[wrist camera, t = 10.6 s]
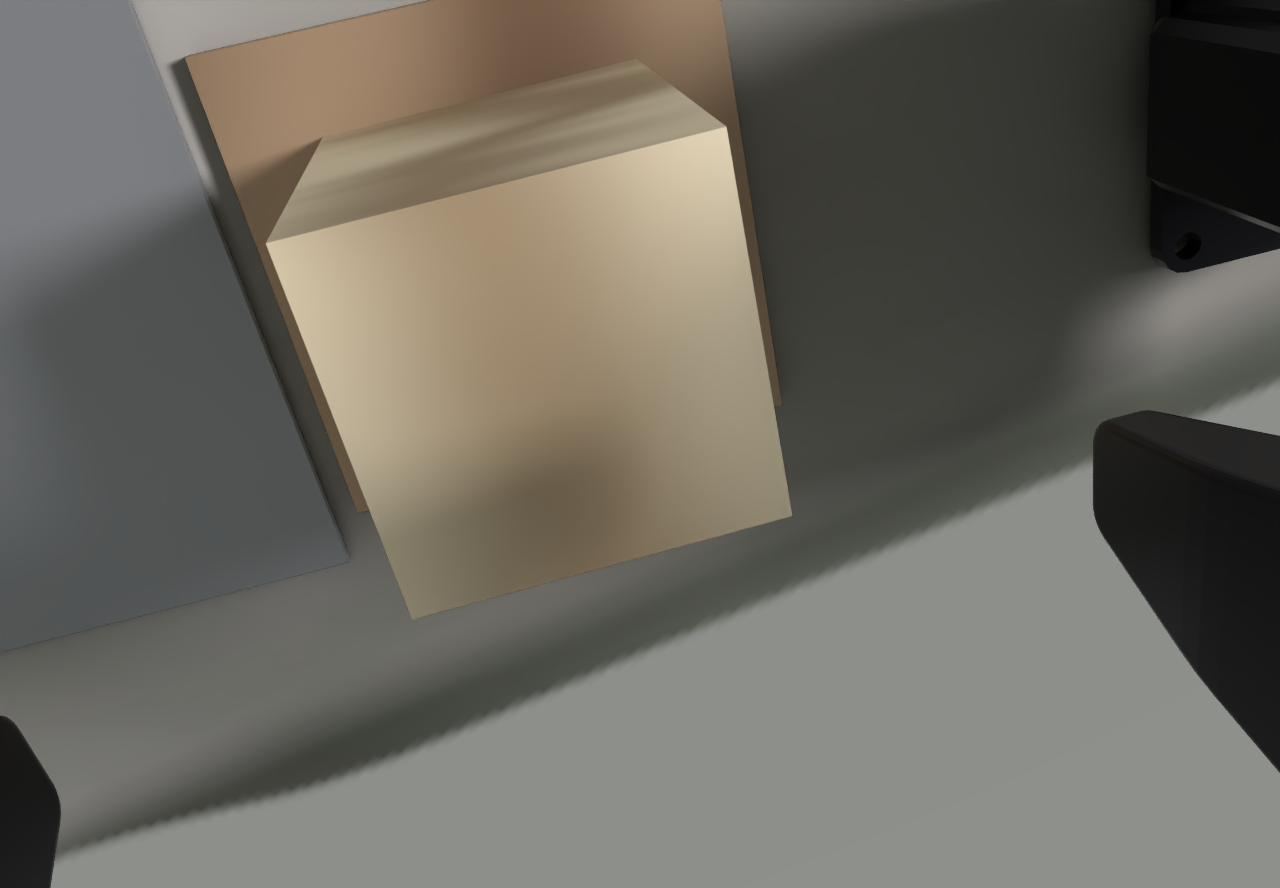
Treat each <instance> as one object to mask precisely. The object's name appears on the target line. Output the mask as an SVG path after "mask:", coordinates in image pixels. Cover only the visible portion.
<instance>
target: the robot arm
mask: <svg viewBox="0 0 1280 888" xmlns="http://www.w3.org/2000/svg"><path fill="white" fill-rule="evenodd" d="M1146 172H1147V176H1148V177H1149V178H1150V179H1151V210H1150V246H1149V247H1150V252H1151V256H1152V258H1153V259H1154V260H1155V262H1156V263H1158V264H1160V265H1162V266H1164V267H1166V268H1168V269H1170V270H1173V271H1175V272H1177V273H1178V272H1189V271H1193V270H1197V269H1201V268H1205V267H1209V266H1213V265H1217V264H1221V263H1225V262H1229V261H1233V260H1236V259H1240V258H1244V257H1248V256H1252V255H1256V254H1260V253H1264V252H1268V251H1272V250H1276V249H1280V0H1156V25H1155V28H1154V29H1153V31H1152V33H1151V35H1150V49H1149V89H1148V129H1147V170H1146ZM1185 234H1188V239H1187V243H1186V245H1185V246H1184V247H1183V248H1182V250H1180V251H1178V252H1175V247H1176V244H1177V242H1178V240H1179V239H1180V238H1181V237H1182V236H1183V235H1185ZM1093 510H1094V515H1095V519H1096V522H1097V525H1098V527H1099V530H1100V532H1101V533H1102V535H1103V537H1104V539H1105V540H1106V542H1107V543H1108V545H1109V546H1110V547H1111V549H1112V550H1113V552H1114V553H1115V555H1116V556H1117V558H1118V559H1119V561H1120V562H1121V564H1122V565H1123V567H1124V568H1125V570H1126V571H1127V573H1128V574H1129V576H1130V577H1131V579H1132V580H1133V582H1134V583H1135V585H1136V586H1137V587H1138V589H1139V591H1140V592H1141V594H1142V595H1143V596H1144V597H1145V599H1146V601H1147V602H1148V604H1149V605H1150V607H1151V608H1152V610H1153V611H1154V613H1155V614H1156V616H1157V617H1158V619H1159V620H1160V622H1161V623H1162V625H1163V626H1164V628H1165V629H1166V631H1167V632H1168V634H1169V635H1170V637H1171V638H1172V640H1173V641H1174V642H1175V644H1176V645H1177V647H1178V648H1179V650H1180V651H1181V653H1182V654H1183V656H1184V657H1185V658H1186V660H1187V661H1188V662H1189V664H1190V665H1191V666H1192V668H1193V669H1194V671H1195V672H1196V673H1197V675H1198V676H1199V677H1200V678H1201V680H1202V681H1203V682H1204V683H1205V685H1206V686H1207V687H1208V688H1209V690H1210V691H1211V692H1212V693H1213V695H1214V696H1215V697H1216V698H1217V699H1218V701H1219V702H1220V703H1221V704H1222V705H1223V706H1224V708H1225V709H1226V710H1227V711H1228V712H1229V714H1230V715H1231V716H1232V717H1233V718H1234V719H1235V721H1236V722H1237V723H1238V724H1239V725H1240V726H1241V728H1242V729H1243V730H1244V731H1245V732H1246V733H1247V735H1248V736H1249V737H1250V738H1251V739H1252V740H1253V742H1254V743H1255V744H1256V745H1257V746H1258V748H1259V749H1260V750H1261V751H1262V752H1263V753H1264V755H1265V756H1266V757H1267V758H1268V759H1269V761H1270V762H1271V763H1272V764H1273V765H1274V766H1275V768H1276V769H1277V770H1278V771H1279V772H1280V436H1277V435H1272V434H1267V433H1262V432H1257V431H1252V430H1247V429H1242V428H1237V427H1232V426H1227V425H1222V424H1217V423H1211V422H1207V421H1201V420H1197V419H1192V418H1186V417H1181V416H1176V415H1171V414H1166V413H1161V412H1156V411H1150V410H1146V411H1138V412H1135V413H1131V414H1127V415H1123V416H1120V417H1116V418H1112V419H1109V420H1106V421H1103V422H1102V423H1101V424H1100V425H1099V426H1098V427H1097V429H1096V431H1095V434H1094V439H1093ZM60 817H61V811H60V802H59V797H58V794H57V791H56V789H55V786H54V784H53V783H52V781H51V779H50V778H49V776H48V775H47V773H46V772H45V770H44V768H43V767H42V765H41V764H40V762H39V760H38V759H37V757H36V756H35V754H34V752H33V751H32V749H31V748H30V746H29V744H28V743H27V741H26V740H25V738H24V736H23V735H22V733H21V732H20V730H19V729H18V727H17V726H16V725H15V723H14V722H12V721H11V720H10V719H9V718H7V717H4V716H0V888H50V887H51V880H52V873H53V867H54V860H55V853H56V846H57V840H58V833H59V826H60Z"/></svg>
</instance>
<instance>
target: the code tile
mask: <svg viewBox="0 0 1280 888" xmlns="http://www.w3.org/2000/svg"><path fill="white" fill-rule="evenodd" d="M345 563H349V554H348V552H347V549H346V546H345V544H344V541H343V539H342V536H341V534H340V531H339V529H338V526H337V524H336V521H335V518H334V516H333V513H332V511H331V508H330V506H329V503H328V501H327V498H326V496H325V493H324V490H323V488H322V485H321V483H320V480H319V478H318V475H317V473H316V470H315V468H314V465H313V462H312V460H311V457H310V455H309V452H308V450H307V447H306V445H305V442H304V440H303V437H302V434H301V432H300V429H299V427H298V424H297V422H296V419H295V417H294V414H293V412H292V409H291V406H290V404H289V401H288V399H287V396H286V394H285V391H284V389H283V386H282V384H281V381H280V378H279V376H278V373H277V371H276V368H275V366H274V363H273V361H272V358H271V356H270V353H269V350H268V348H267V345H266V343H265V340H264V338H263V335H262V333H261V330H260V328H259V325H258V322H257V320H256V317H255V315H254V312H253V310H252V307H251V305H250V302H249V300H248V297H247V294H246V292H245V289H244V287H243V284H242V282H241V279H240V277H239V274H238V272H237V269H236V266H235V264H234V261H233V259H232V256H231V254H230V251H229V249H228V246H227V244H226V241H225V238H224V236H223V233H222V231H221V228H220V226H219V223H218V221H217V218H216V216H215V213H214V210H213V208H212V205H211V203H210V200H209V198H208V195H207V193H206V190H205V188H204V185H203V182H202V180H201V177H200V175H199V172H198V170H197V167H196V165H195V162H194V160H193V157H192V154H191V152H190V149H189V147H188V144H187V142H186V139H185V137H184V134H183V132H182V129H181V126H180V124H179V121H178V119H177V116H176V114H175V111H174V109H173V106H172V104H171V101H170V98H169V96H168V93H167V91H166V88H165V86H164V83H163V81H162V78H161V76H160V73H159V70H158V68H157V65H156V63H155V60H154V58H153V55H152V53H151V50H150V48H149V45H148V42H147V40H146V37H145V35H144V32H143V30H142V27H141V25H140V22H139V20H138V17H137V14H136V12H135V9H134V7H133V4H132V2H131V0H0V652H4V651H7V650H11V649H15V648H19V647H23V646H27V645H31V644H35V643H38V642H42V641H46V640H50V639H54V638H58V637H62V636H66V635H69V634H73V633H77V632H81V631H85V630H89V629H93V628H97V627H100V626H104V625H108V624H112V623H116V622H120V621H124V620H128V619H132V618H135V617H139V616H143V615H147V614H151V613H155V612H159V611H163V610H166V609H170V608H174V607H178V606H182V605H186V604H190V603H194V602H197V601H201V600H205V599H209V598H213V597H217V596H221V595H225V594H228V593H232V592H236V591H240V590H244V589H248V588H252V587H256V586H259V585H263V584H267V583H271V582H275V581H279V580H283V579H287V578H291V577H294V576H298V575H302V574H306V573H310V572H314V571H318V570H322V569H325V568H329V567H333V566H337V565H341V564H345Z"/></svg>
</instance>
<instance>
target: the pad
mask: <svg viewBox="0 0 1280 888" xmlns="http://www.w3.org/2000/svg"><path fill="white" fill-rule="evenodd" d="M634 59H638V60H639V61H640V62H642V63H643V64H644V65H646V66H647V67H648V68H650V69H651V70H652V71H654V72H655V73H656V74H657V75H659V76H660V77H661V78H663V79H664V80H665V81H667V82H668V83H669V84H671V85H672V86H673V87H675V88H676V89H677V90H679V91H680V92H681V93H683V94H684V95H685V96H687V97H688V98H689V99H691V100H692V101H693V102H695V103H696V104H697V105H698V106H700V107H701V108H702V109H704V110H705V111H706V112H708V113H709V114H710V115H712V116H713V117H714V118H716V119H717V120H718V121H720V122H721V123H722V124H724V125H725V126H726V127H727V133H728V139H729V144H730V150H731V156H732V162H733V168H734V174H735V180H736V186H737V192H738V198H739V204H740V209H741V215H742V221H743V227H744V233H745V239H746V245H747V251H748V257H749V263H750V268H751V274H752V280H753V286H754V292H755V298H756V304H757V310H758V316H759V322H760V327H761V333H762V339H763V345H764V351H765V357H766V363H767V369H768V375H769V381H770V386H771V392H772V398H773V404H774V407H777V406H781V405H782V401H781V395H780V388H779V381H778V375H777V368H776V361H775V355H774V348H773V342H772V335H771V328H770V322H769V315H768V309H767V302H766V295H765V289H764V282H763V275H762V269H761V262H760V256H759V249H758V242H757V236H756V229H755V223H754V216H753V209H752V203H751V196H750V190H749V183H748V176H747V170H746V163H745V156H744V150H743V143H742V137H741V130H740V123H739V117H738V110H737V104H736V97H735V90H734V84H733V77H732V70H731V64H730V57H729V51H728V44H727V37H726V31H725V24H724V18H723V11H722V4H721V0H427V1H423V2H418V3H414V4H410V5H405V6H401V7H397V8H392V9H388V10H384V11H379V12H375V13H371V14H366V15H362V16H358V17H353V18H349V19H344V20H340V21H336V22H331V23H327V24H323V25H318V26H314V27H310V28H305V29H301V30H297V31H292V32H288V33H283V34H279V35H275V36H270V37H266V38H262V39H257V40H253V41H249V42H244V43H240V44H236V45H231V46H227V47H223V48H218V49H214V50H209V51H205V52H201V53H196V54H192V55H188V56H187V57H185V60H186V63H187V65H188V68H189V71H190V73H191V76H192V79H193V81H194V84H195V87H196V89H197V92H198V94H199V97H200V100H201V102H202V105H203V108H204V110H205V113H206V115H207V118H208V121H209V123H210V126H211V129H212V131H213V134H214V137H215V139H216V142H217V144H218V147H219V150H220V152H221V155H222V158H223V160H224V163H225V166H226V168H227V171H228V173H229V176H230V179H231V181H232V184H233V187H234V189H235V192H236V194H237V197H238V200H239V202H240V205H241V208H242V210H243V213H244V216H245V218H246V221H247V223H248V226H249V229H250V231H251V234H252V237H253V239H254V242H255V244H256V247H257V250H258V252H259V255H260V258H261V260H262V263H263V266H264V268H265V271H266V273H267V276H268V279H269V281H270V284H271V287H272V289H273V292H274V294H275V297H276V300H277V302H278V305H279V308H280V310H281V313H282V316H283V318H284V321H285V323H286V326H287V329H288V331H289V334H290V337H291V339H292V342H293V345H294V347H295V350H296V352H297V355H298V358H299V360H300V363H301V366H302V368H303V371H304V373H305V376H306V379H307V381H308V384H309V387H310V389H311V392H312V395H313V397H314V400H315V402H316V405H317V408H318V410H319V413H320V416H321V418H322V421H323V423H324V426H325V429H326V431H327V434H328V437H329V439H330V442H331V445H332V447H333V450H334V452H335V455H336V458H337V460H338V463H339V466H340V468H341V471H342V474H343V476H344V479H345V481H346V484H347V487H348V489H349V492H350V495H351V497H352V500H353V502H354V505H355V508H356V510H357V513H362V512H366V511H370V510H369V508H368V505H367V503H366V500H365V497H364V495H363V492H362V490H361V487H360V485H359V482H358V479H357V477H356V474H355V472H354V469H353V467H352V464H351V461H350V459H349V456H348V454H347V451H346V449H345V446H344V443H343V441H342V438H341V436H340V433H339V431H338V428H337V425H336V423H335V420H334V418H333V415H332V413H331V410H330V407H329V405H328V402H327V400H326V397H325V395H324V392H323V389H322V387H321V384H320V382H319V379H318V377H317V374H316V372H315V369H314V366H313V364H312V361H311V359H310V356H309V354H308V351H307V348H306V346H305V343H304V341H303V338H302V336H301V333H300V330H299V328H298V325H297V323H296V320H295V318H294V315H293V312H292V310H291V307H290V305H289V302H288V300H287V297H286V294H285V292H284V289H283V287H282V284H281V282H280V279H279V276H278V274H277V271H276V269H275V266H274V264H273V261H272V258H271V256H270V253H269V251H268V248H267V246H266V242H267V240H268V238H269V236H270V234H271V233H272V231H273V229H274V227H275V225H276V223H277V221H278V220H279V218H280V216H281V214H282V212H283V210H284V208H285V207H286V205H287V203H288V201H289V199H290V197H291V195H292V194H293V192H294V190H295V188H296V186H297V184H298V182H299V181H300V179H301V177H302V175H303V173H304V171H305V169H306V168H307V166H308V164H309V162H310V160H311V158H312V156H313V155H314V153H315V151H316V149H317V147H318V145H319V143H320V142H321V140H322V138H323V137H325V136H329V135H333V134H337V133H341V132H345V131H349V130H353V129H357V128H361V127H365V126H369V125H373V124H377V123H381V122H385V121H389V120H393V119H397V118H401V117H405V116H409V115H413V114H417V113H421V112H425V111H429V110H433V109H438V108H442V107H446V106H450V105H454V104H458V103H462V102H466V101H470V100H474V99H478V98H482V97H486V96H490V95H494V94H498V93H502V92H506V91H510V90H514V89H518V88H522V87H526V86H530V85H534V84H538V83H542V82H546V81H550V80H554V79H558V78H562V77H566V76H570V75H574V74H578V73H582V72H586V71H590V70H594V69H598V68H602V67H606V66H610V65H614V64H618V63H622V62H626V61H630V60H634Z"/></svg>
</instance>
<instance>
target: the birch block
mask: <svg viewBox="0 0 1280 888" xmlns="http://www.w3.org/2000/svg"><path fill="white" fill-rule="evenodd" d="M266 246H267V248H268V251H269V253H270V256H271V258H272V261H273V264H274V266H275V269H276V271H277V274H278V276H279V279H280V282H281V284H282V287H283V289H284V292H285V294H286V297H287V300H288V302H289V305H290V307H291V310H292V312H293V315H294V318H295V320H296V323H297V325H298V328H299V330H300V333H301V336H302V338H303V341H304V343H305V346H306V348H307V351H308V354H309V356H310V359H311V361H312V364H313V366H314V369H315V372H316V374H317V377H318V379H319V382H320V384H321V387H322V389H323V392H324V395H325V397H326V400H327V402H328V405H329V407H330V410H331V413H332V415H333V418H334V420H335V423H336V425H337V428H338V431H339V433H340V436H341V438H342V441H343V443H344V446H345V449H346V451H347V454H348V456H349V459H350V461H351V464H352V467H353V469H354V472H355V474H356V477H357V479H358V482H359V485H360V487H361V490H362V492H363V495H364V497H365V500H366V503H367V505H368V508H369V510H370V513H371V515H372V518H373V521H374V523H375V526H376V528H377V531H378V533H379V536H380V539H381V541H382V544H383V546H384V549H385V551H386V554H387V557H388V559H389V562H390V564H391V567H392V569H393V572H394V575H395V577H396V580H397V582H398V585H399V587H400V590H401V593H402V595H403V598H404V600H405V603H406V605H407V608H408V610H409V613H410V616H411V618H412V620H413V619H417V618H421V617H424V616H428V615H432V614H435V613H439V612H443V611H446V610H450V609H454V608H457V607H461V606H465V605H468V604H472V603H476V602H479V601H483V600H487V599H490V598H494V597H498V596H501V595H505V594H509V593H512V592H516V591H520V590H523V589H527V588H531V587H534V586H538V585H542V584H545V583H549V582H553V581H556V580H560V579H564V578H567V577H571V576H575V575H578V574H582V573H586V572H589V571H593V570H597V569H600V568H604V567H608V566H611V565H615V564H619V563H622V562H626V561H630V560H633V559H637V558H641V557H644V556H648V555H652V554H655V553H659V552H663V551H666V550H670V549H674V548H677V547H681V546H685V545H688V544H692V543H696V542H699V541H703V540H707V539H710V538H714V537H718V536H721V535H725V534H729V533H732V532H736V531H740V530H743V529H747V528H751V527H754V526H758V525H762V524H765V523H769V522H773V521H776V520H780V519H784V518H787V517H791V516H792V510H791V505H790V499H789V493H788V487H787V481H786V475H785V469H784V463H783V457H782V451H781V445H780V440H779V434H778V428H777V422H776V416H775V410H774V404H773V398H772V392H771V386H770V381H769V375H768V369H767V363H766V357H765V351H764V345H763V339H762V333H761V327H760V322H759V316H758V310H757V304H756V298H755V292H754V286H753V280H752V274H751V268H750V263H749V257H748V251H747V245H746V239H745V233H744V227H743V221H742V215H741V209H740V204H739V198H738V192H737V186H736V180H735V174H734V168H733V162H732V156H731V150H730V144H729V139H728V133H727V127H726V126H725V125H724V124H722V123H721V122H720V121H718V120H717V119H716V118H714V117H713V116H712V115H710V114H709V113H708V112H706V111H705V110H704V109H702V108H701V107H700V106H698V105H697V104H696V103H695V102H693V101H692V100H691V99H689V98H688V97H687V96H685V95H684V94H683V93H681V92H680V91H679V90H677V89H676V88H675V87H673V86H672V85H671V84H669V83H668V82H667V81H665V80H664V79H663V78H661V77H660V76H659V75H657V74H656V73H655V72H654V71H652V70H651V69H650V68H648V67H647V66H646V65H644V64H643V63H642V62H640V61H639V60H638V59H634V60H630V61H626V62H622V63H618V64H614V65H610V66H606V67H602V68H598V69H594V70H590V71H586V72H582V73H578V74H574V75H570V76H566V77H562V78H558V79H554V80H550V81H546V82H542V83H538V84H534V85H530V86H526V87H522V88H518V89H514V90H510V91H506V92H502V93H498V94H494V95H490V96H486V97H482V98H478V99H474V100H470V101H466V102H462V103H458V104H454V105H450V106H446V107H442V108H438V109H433V110H429V111H425V112H421V113H417V114H413V115H409V116H405V117H401V118H397V119H393V120H389V121H385V122H381V123H377V124H373V125H369V126H365V127H361V128H357V129H353V130H349V131H345V132H341V133H337V134H333V135H329V136H325V137H323V138H322V140H321V142H320V143H319V145H318V147H317V149H316V151H315V153H314V155H313V156H312V158H311V160H310V162H309V164H308V166H307V168H306V169H305V171H304V173H303V175H302V177H301V179H300V181H299V182H298V184H297V186H296V188H295V190H294V192H293V194H292V195H291V197H290V199H289V201H288V203H287V205H286V207H285V208H284V210H283V212H282V214H281V216H280V218H279V220H278V221H277V223H276V225H275V227H274V229H273V231H272V233H271V234H270V236H269V238H268V240H267V242H266Z"/></svg>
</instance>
